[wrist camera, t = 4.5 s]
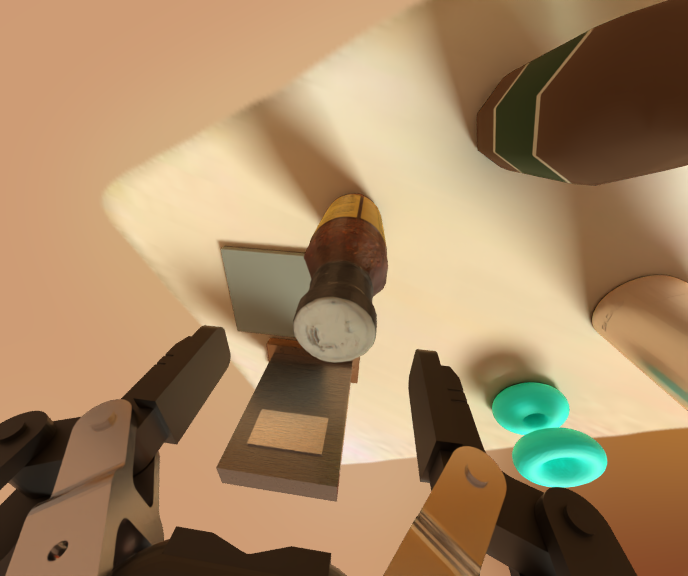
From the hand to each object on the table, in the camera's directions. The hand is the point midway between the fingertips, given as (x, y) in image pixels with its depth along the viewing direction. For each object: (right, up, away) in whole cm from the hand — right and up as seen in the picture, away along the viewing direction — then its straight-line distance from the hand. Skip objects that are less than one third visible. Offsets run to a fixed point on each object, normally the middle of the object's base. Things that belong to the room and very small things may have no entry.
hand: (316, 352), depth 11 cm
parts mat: (-8, +2, +25) cm, 26 cm away
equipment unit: (-3, -8, +30) cm, 31 cm away
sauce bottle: (+2, +10, +19) cm, 22 cm away
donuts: (+29, -15, +29) cm, 44 cm away
